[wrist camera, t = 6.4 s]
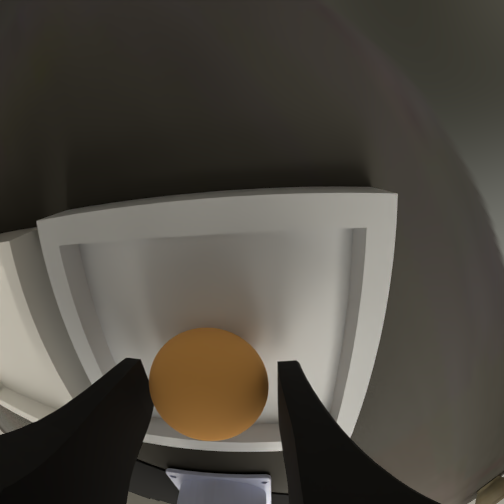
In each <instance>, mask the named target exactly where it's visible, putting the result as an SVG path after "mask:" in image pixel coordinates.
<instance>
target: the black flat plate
mask: <svg viewBox="0 0 504 504" xmlns="http://www.w3.org/2000/svg"><path fill="white" fill-rule="evenodd" d="M128 491H129V492H132V493H135V494H137V495H140V496H143V497H146V498H149V499H150V498H151V499H155V500H158V501H160V500H161V501H164V502H167V503H171V504H177V500H178V495H179V489H178V488H177V487H176V486H175V484H174V483H173V482H172V481H171V479H170V478H169V477H168V475H167V474H166V470H165V469H162V468H159V467H156V466H153V465H150V464H148V463H145V462H142V461H140V460H137V459H136V462H135V465H134V468H133V472H132V475H131V480H130V485H129V490H128ZM271 504H289V494H284V493H273V492H271Z"/></svg>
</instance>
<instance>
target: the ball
mask: <svg viewBox="0 0 504 504" xmlns="http://www.w3.org/2000/svg"><path fill="white" fill-rule="evenodd" d="M149 390H150V395H151V399H152V402H153V404H154V406H155V408H156V410H157V412H158V413H159V415H160V416H161V417H162V419H163V420H164V421H165V422H166V423H167V424H168V425H169V426H171V427H172V428H173V429H174V430H176V431H177V432H179V433H181V434H183V435H185V436H187V437H190V438H193V439H197V440H202V441H220V440H225V439H229V438H232V437H234V436H237V435H239V434H241V433H242V432H244V431H245V430H247V429H248V428H249V427H250V426H252V425H253V424H254V423H255V422H256V420H257V419H258V418H259V416H260V415H261V413H262V411H263V409H264V407H265V405H266V401H267V397H268V390H269V382H268V375H267V371H266V368H265V365H264V363H263V361H262V359H261V358H260V356H259V354H258V353H257V352H256V350H255V349H254V348H253V347H252V346H251V345H250V344H249V343H248V342H246V341H245V340H244V339H242V338H241V337H239V336H237V335H235V334H233V333H231V332H229V331H226V330H222V329H218V328H195V329H191V330H187V331H185V332H182V333H180V334H178V335H176V336H175V337H173V338H172V339H170V340H169V341H168V342H167V343H165V344H164V346H163V347H162V348H161V349H160V350H159V352H158V353H157V355H156V356H155V358H154V360H153V363H152V366H151V369H150V375H149Z"/></svg>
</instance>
